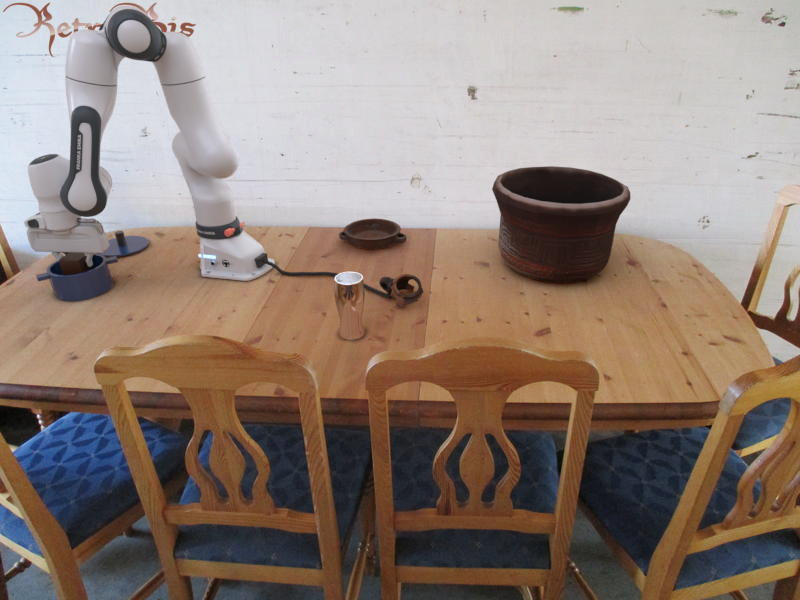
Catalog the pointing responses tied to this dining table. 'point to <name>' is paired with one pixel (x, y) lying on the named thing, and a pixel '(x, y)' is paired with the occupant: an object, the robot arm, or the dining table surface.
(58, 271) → the pot
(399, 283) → the pottery mug
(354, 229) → the dish
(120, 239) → the lid
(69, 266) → the brownie
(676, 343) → the dining table surface
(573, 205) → the ceramic pot
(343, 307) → the beer glass
